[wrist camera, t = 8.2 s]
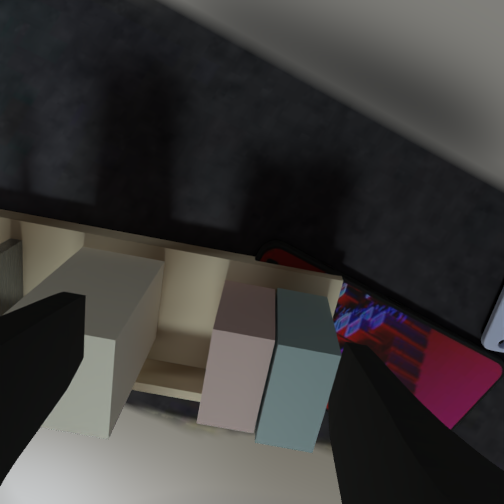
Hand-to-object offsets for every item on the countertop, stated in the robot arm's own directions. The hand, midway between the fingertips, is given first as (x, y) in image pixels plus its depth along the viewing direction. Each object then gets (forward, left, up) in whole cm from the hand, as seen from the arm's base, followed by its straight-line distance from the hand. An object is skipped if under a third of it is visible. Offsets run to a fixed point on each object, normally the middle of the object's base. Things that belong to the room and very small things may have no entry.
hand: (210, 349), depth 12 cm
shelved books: (-2, +5, -10) cm, 12 cm away
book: (+5, +4, -9) cm, 11 cm away
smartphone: (-7, +6, -11) cm, 14 cm away
